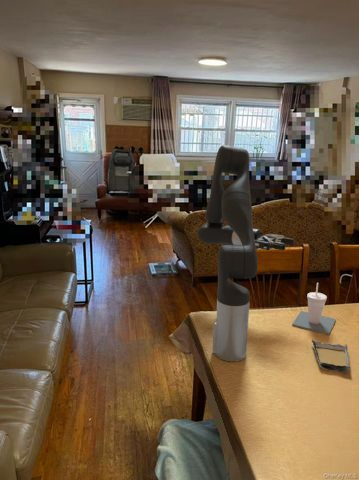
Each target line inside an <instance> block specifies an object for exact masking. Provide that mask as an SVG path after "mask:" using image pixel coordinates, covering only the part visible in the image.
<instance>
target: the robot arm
mask: <svg viewBox="0 0 359 480" xmlns="http://www.w3.org/2000/svg"><path fill="white" fill-rule="evenodd" d="M215 156H216V157H215V161H214V167H213V174H212V180H211V187H210V194H209V198H208V199H209V200H208V203H207V205H206V206H207V207H206V210H205V214H204V215H205V216H204V217H205V220H206V223H204V224H203V225H202V226H200V227H199V228H198V230H197V233H196V235H197V238H198V240H199V241H200V242H202V243H204V244H206V245H207V244H209V245H220V247H219V249H218V251H217V294H216V295H217V296H216V297H217V298H216V318H215V319H216V321H215V322H214V323H213V326H212V352H211V353H212V354H214V355H216V356H217V357H218V358H219V359H220V360H224V361H227V362H239V361H242V360H244V359H245V358H246V356H247V350H248V347H247V346H248V335H249V334H248V332H249V318H250V317H249V315H250V301H251V300H250V298H251V293H250V291H249V290H248V288H247V287H245V286H243V285H241V284H237V283H235V282H234V281H232V279H253V278H255V277H256V276H257V274H258V273H257V272H258V267H259V266H258V265H259V263H258V262H259V260H258V252H257V250H259V249H261V250H266V251H271V250H279V251H285V250H286V247H287V246H294V245H295V239H294V238H290V237H285V235H283V234H281V235H280V234H273V233H268V234H265V235H264V234H263V231H262V230H261V229H259V228H254V226H253V205H252V197H251V189H250V188H251V187H250V154H249V152H248V149H245V148H242V147H238V146H237V147H236V146H232V145H227V144H222V145H221V146H219V148H218V150H217V152H216V155H215ZM223 173H225V174H230V175H234V176H236V179H235V180H234V181H233V182H232V183H231V184H230V185H229V186H227V188H226V190H225V188H224V186H223V180H222V177H223ZM224 221H225V223H226V224H227V225H225V226H224V225H223V224H224ZM221 244H222V245H221ZM286 245H287V246H286Z"/></svg>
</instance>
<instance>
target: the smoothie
mask: <svg viewBox="0 0 359 480" xmlns="http://www.w3.org/2000/svg"><path fill="white" fill-rule="evenodd" d="M315 287H316V288H315V291H314V292H312V291H311V292H309V293H307V296H306V298H307V310H308V311H307V312H308V321H309V322H310V323H312V324H319V323H320V320H321V316H323V311H324V309H325V304H326V301H327V298H328V296H327V295H325V294H324V293H321V292H318V290H319V282H317V283H316V286H315Z"/></svg>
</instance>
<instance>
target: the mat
mask: <svg viewBox="0 0 359 480" xmlns="http://www.w3.org/2000/svg"><path fill="white" fill-rule="evenodd" d="M336 320H337V319H336V318H333V317H330V316H329V317H328V316H325V315H322V316H321V320H320V323H319V324H312V323H310V322H309V321H308V311H303V310H301V311H300V312H299V313H298V315H297V316H296V318H295V320H293V322H292V324H291V326H293V327H297V328H299V327H300V328H299V329H304V330H309V331H310V332H311V331H312V332H314V333H315V332H316V333H319V334H324V335H326V336H330V334H331V332H332V330H333V327H334V325H335V322H336Z"/></svg>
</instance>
